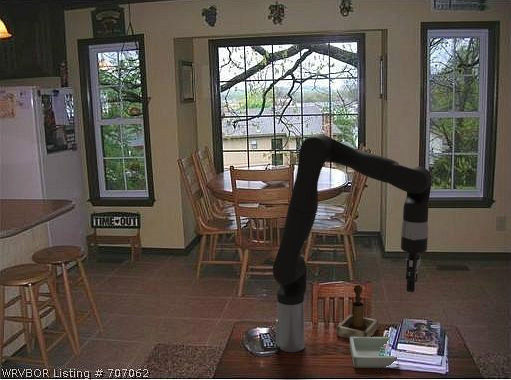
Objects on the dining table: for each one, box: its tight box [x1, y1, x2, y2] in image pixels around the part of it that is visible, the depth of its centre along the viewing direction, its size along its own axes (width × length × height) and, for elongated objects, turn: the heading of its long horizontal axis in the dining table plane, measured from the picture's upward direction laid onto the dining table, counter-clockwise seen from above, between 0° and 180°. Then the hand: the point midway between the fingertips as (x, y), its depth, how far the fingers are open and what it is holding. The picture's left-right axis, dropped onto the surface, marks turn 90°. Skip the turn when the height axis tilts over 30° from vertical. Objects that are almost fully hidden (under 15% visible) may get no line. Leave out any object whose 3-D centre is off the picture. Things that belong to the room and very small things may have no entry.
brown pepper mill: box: [348, 284, 367, 332], centre depth 190 cm, size 7×6×18 cm
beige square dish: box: [336, 314, 379, 340], centre depth 191 cm, size 11×12×4 cm
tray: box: [349, 336, 397, 369], centre depth 174 cm, size 14×14×4 cm
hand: (411, 286), depth 159 cm, fingers open, 8 cm apart
